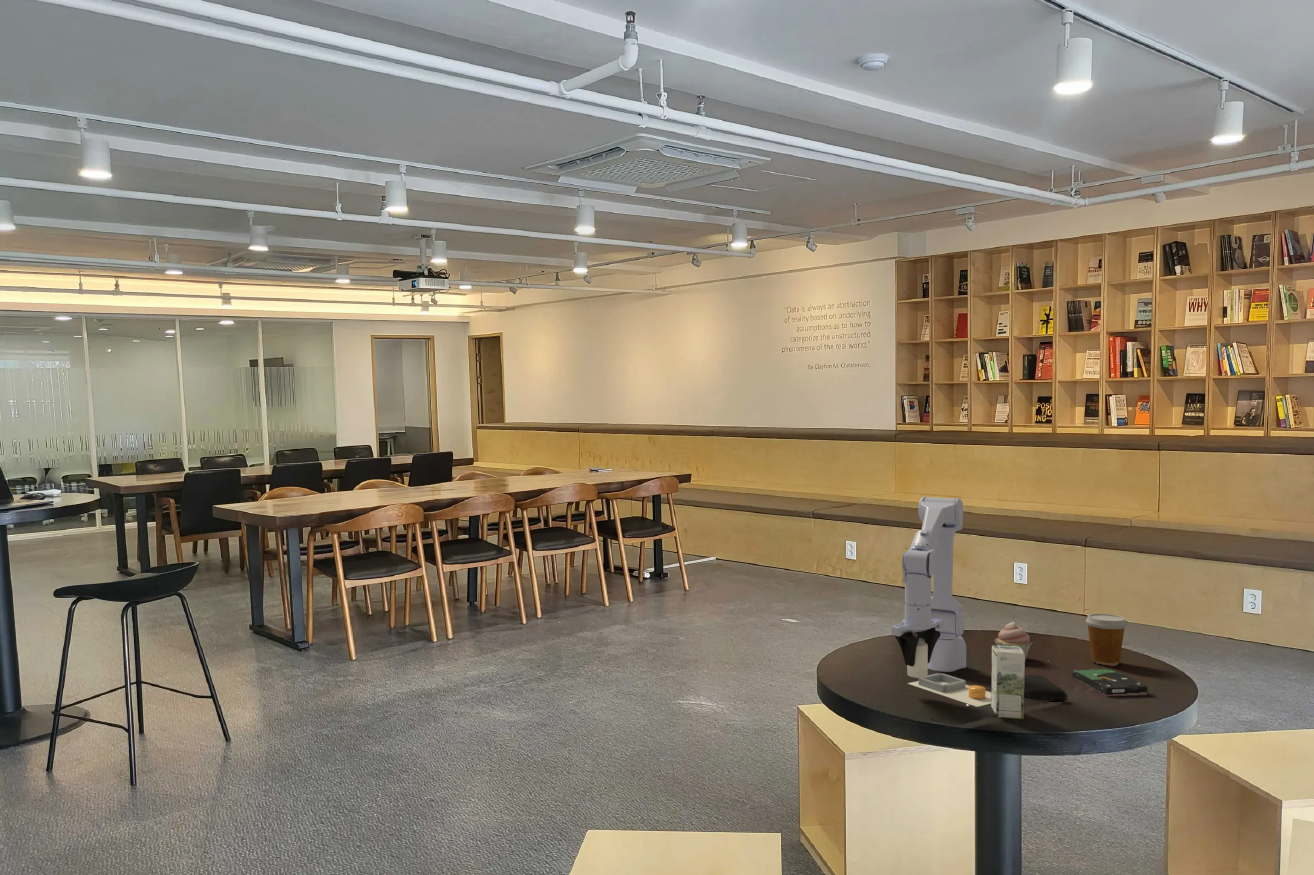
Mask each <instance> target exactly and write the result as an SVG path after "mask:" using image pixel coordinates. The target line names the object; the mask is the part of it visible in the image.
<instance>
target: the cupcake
mask: <svg viewBox="0 0 1314 875" xmlns="http://www.w3.org/2000/svg"><path fill="white" fill-rule="evenodd" d="M994 642H995V644H996V646H1018V647H1020V648H1021V649H1022V651H1023V653H1024V654H1025V661H1026V660H1027V657H1028V653H1029V649H1030V647H1031V646H1032V644H1033V643H1034V642H1033V641H1030V634H1028V633H1026V630H1025V629H1024V628H1022V627H1021V626H1019V625H1018V624H1017V623H1016V621H1012V622H1009V623H1007V624H1006V625H1005V626H1004V627H1003V629H1000V631H999V632H998V637H996V638H995V639H994Z"/></svg>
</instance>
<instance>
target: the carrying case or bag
mask: <svg viewBox="0 0 1314 875" xmlns="http://www.w3.org/2000/svg"><path fill="white" fill-rule="evenodd" d="M1024 698H1027V699H1031V700H1046V701H1043V702H1042V704H1043V703H1044V704H1047V703H1046V702H1062V703H1064V702H1066V700H1067V699H1068V694H1067V693H1066V692H1065V690H1063V689H1062V688H1061V687H1059V686H1058V685H1056V684H1055V683H1054V682H1053V681H1051V680H1049V679H1048V678H1046V677H1045V676H1043V675H1040V674H1024Z"/></svg>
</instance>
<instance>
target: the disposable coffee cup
mask: <svg viewBox="0 0 1314 875" xmlns="http://www.w3.org/2000/svg"><path fill="white" fill-rule="evenodd" d="M1085 623H1086V624H1087V628H1088V629H1087V630H1088V638H1089V639H1088V640H1089V645H1090V646H1089V647H1090V655H1091V656H1090V657H1091V661H1092V660H1094V661H1099V662H1106V663H1115V662H1119V663H1120V661H1121V660H1120V659H1121V655H1122V654H1121V653H1122V646H1123V641H1124V635H1125V628H1127V622H1126V619H1125V618H1124V616H1121V615H1116V614H1110V613H1089V614H1088V615H1087V618H1086V619H1085Z"/></svg>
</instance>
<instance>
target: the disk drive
mask: <svg viewBox="0 0 1314 875" xmlns="http://www.w3.org/2000/svg"><path fill="white" fill-rule="evenodd" d="M1071 676H1072V677H1074V678H1076V679H1078V680H1081V681H1082V682H1084V683H1086V684H1088V685H1090V686H1091V687H1093V688H1095V689H1096V690H1098V691H1100V692H1101V693H1104V694H1106V695H1109V694H1110V695H1113V694H1127V693H1140V692H1148V693H1149V687H1148V686H1147V685H1146V684H1144V683H1142V682H1140V681H1138V680H1136V679H1134V678H1132V677H1130V676H1127V675H1126V674H1123V673H1121V672H1119V671H1117V670H1115V669H1113V668H1111V667H1110V668H1091V669H1073V671H1072V672H1071Z"/></svg>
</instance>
